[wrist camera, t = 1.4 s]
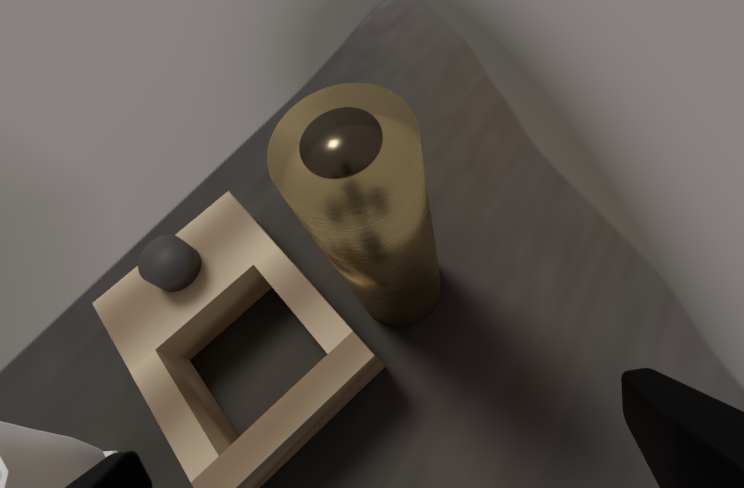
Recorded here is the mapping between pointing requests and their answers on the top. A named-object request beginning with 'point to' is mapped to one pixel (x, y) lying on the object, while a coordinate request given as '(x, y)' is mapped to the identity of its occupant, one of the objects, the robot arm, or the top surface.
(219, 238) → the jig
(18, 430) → the cup
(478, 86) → the top surface
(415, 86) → the top surface
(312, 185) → the tan piece
